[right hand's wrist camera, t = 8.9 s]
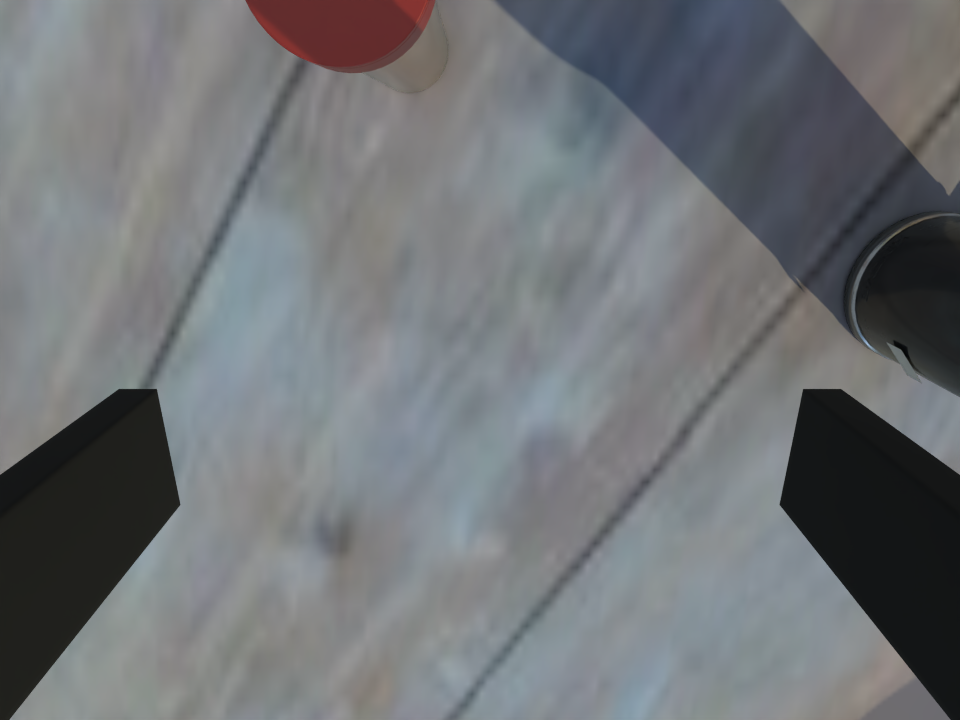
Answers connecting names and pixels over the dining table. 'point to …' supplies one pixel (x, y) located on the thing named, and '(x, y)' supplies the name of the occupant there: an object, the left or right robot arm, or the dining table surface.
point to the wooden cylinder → (418, 60)
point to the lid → (344, 29)
